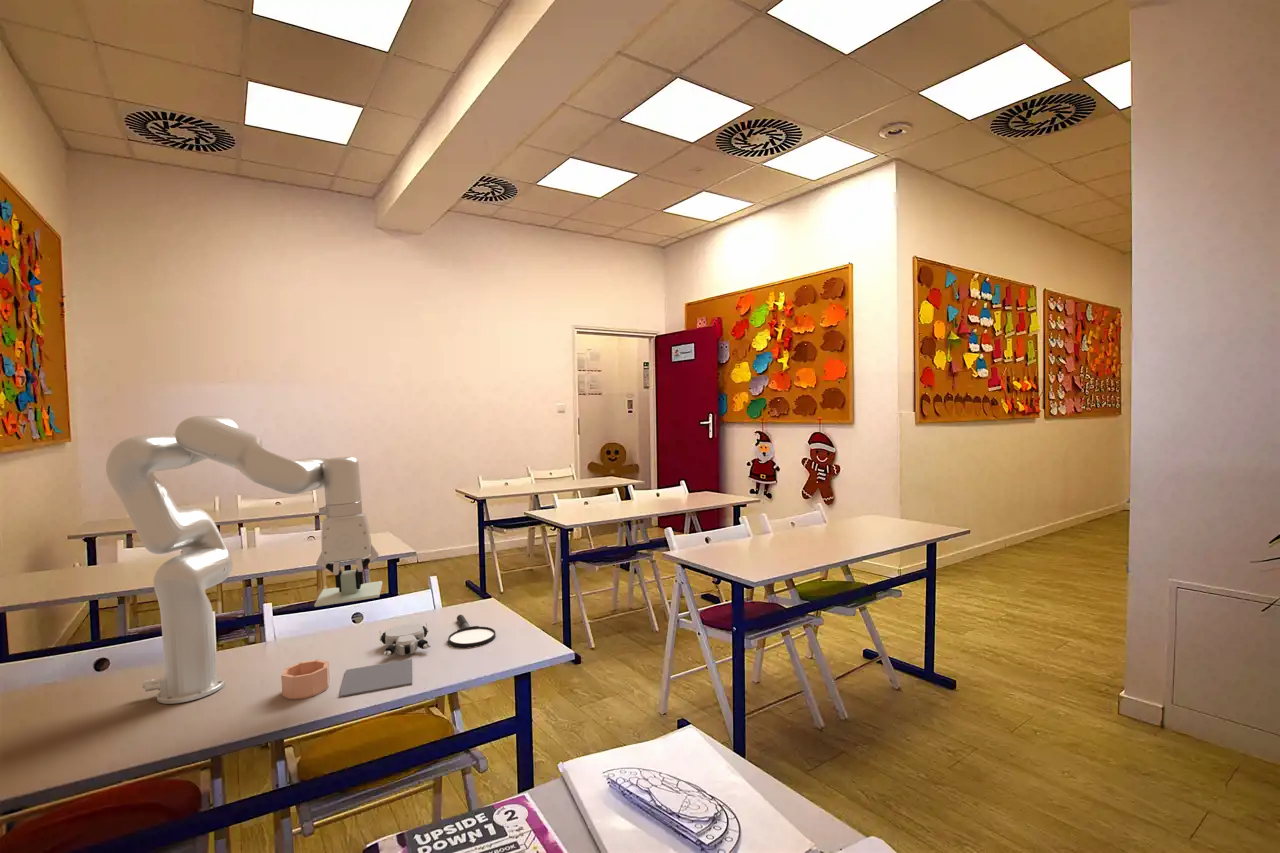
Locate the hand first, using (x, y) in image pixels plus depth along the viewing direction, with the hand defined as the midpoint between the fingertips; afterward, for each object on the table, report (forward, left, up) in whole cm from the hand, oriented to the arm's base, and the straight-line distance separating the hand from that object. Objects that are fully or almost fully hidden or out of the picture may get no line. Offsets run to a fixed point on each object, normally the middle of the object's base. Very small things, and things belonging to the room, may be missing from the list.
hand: (350, 588), depth 142 cm
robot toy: (+11, +17, -22) cm, 30 cm away
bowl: (-10, 0, -22) cm, 24 cm away
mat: (+5, 0, -22) cm, 23 cm away
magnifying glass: (+27, +22, -23) cm, 42 cm away
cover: (0, 0, -1) cm, 1 cm away
